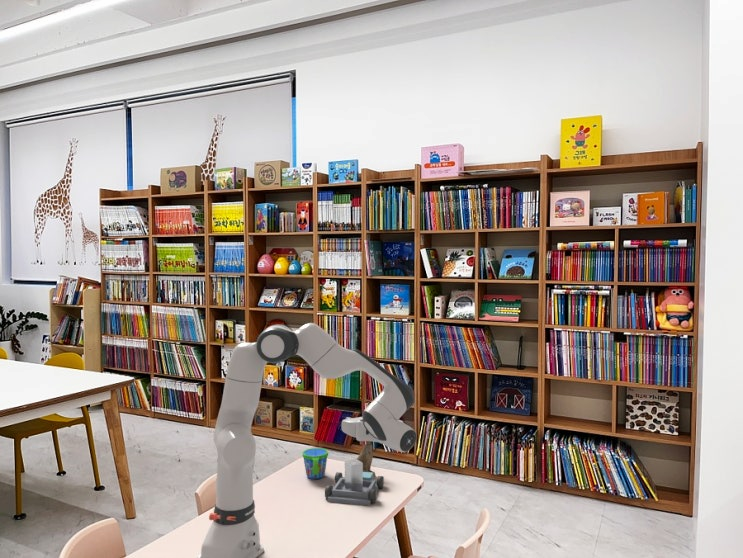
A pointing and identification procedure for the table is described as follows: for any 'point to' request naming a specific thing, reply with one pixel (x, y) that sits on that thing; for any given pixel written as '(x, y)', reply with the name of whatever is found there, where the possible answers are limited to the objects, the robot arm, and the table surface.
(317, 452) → the snack cup
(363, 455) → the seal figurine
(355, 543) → the table surface
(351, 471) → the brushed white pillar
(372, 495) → the toy truck
